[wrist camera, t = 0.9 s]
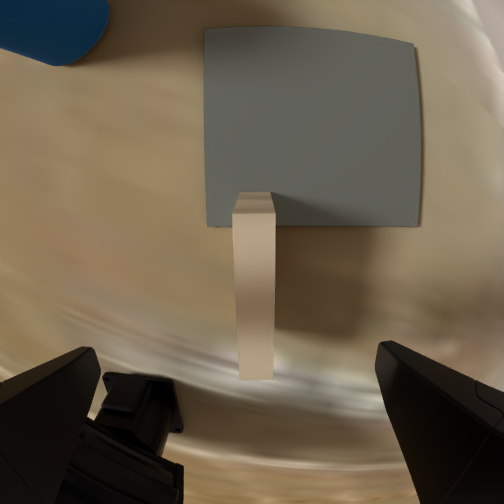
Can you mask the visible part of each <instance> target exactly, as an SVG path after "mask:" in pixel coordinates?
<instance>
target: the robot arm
mask: <svg viewBox="0 0 504 504" xmlns="http://www.w3.org/2000/svg"><path fill="white" fill-rule="evenodd" d="M375 372H376V375H377V379H378V383H379V386H380V390H381V394H382V397H383V401H384V405H385V408H386V411H387V414H388V417H389V419H390V422H391V424H392V427H393V429H394V432H395V434H396V437H397V440H398V442H399V445H400V448H401V450H402V453H403V456H404V458H405V461H406V464H407V467H408V469H409V472H410V475H411V478H412V481H413V484H414V486H415V489H416V492H417V495H418V498H419V501H420V504H504V392H502V391H500V390H497V389H495V388H493V387H490V386H488V385H486V384H483V383H481V382H479V381H477V380H475V381H474V379H473V378H470V377H468V376H466V375H464V374H462V373H460V372H457V371H455V370H453V369H451V368H449V367H447V366H445V365H443V364H440V363H438V362H436V361H434V360H432V359H430V358H428V357H426V356H424V355H421V354H419V353H417V352H415V351H413V350H411V349H409V348H407V347H405V346H403V345H401V344H399V343H396V342H394V341H392V340H390V341H383V342H380V343H379V345H378V349H377V355H376V361H375ZM100 374H101V368H100V365H99V362H98V359H97V356H96V353H95V350H94V349H93V348H92V347H84V346H82V347H79V348H77V349H75V350H73V351H70V352H68V353H66V354H64V355H62V356H59V357H57V358H55V359H53V360H50V361H48V362H46V363H44V364H41V365H39V366H37V367H35V368H32V369H30V370H28V371H25V372H23V373H21V374H19V375H16V376H14V377H12V378H10V379H7V380H5V381H3V383H2V382H0V504H183V500H184V466H183V465H181V464H178V463H173V462H171V461H169V460H167V459H164V458H162V454H163V451H164V447H165V444H166V441H167V437H168V434H169V432H172V433H182V432H183V429H184V427H183V422H182V418H181V414H180V409H179V405H178V400H177V396H176V391H175V386H174V383H173V381H172V380H170V379H163V378H152V377H142V376H133V375H125V374H117V373H110V372H106V373H104V375H103V377H102V378H103V382H104V384H105V387H106V390H107V393H108V394H107V395H106V397H105V399H104V401H103V402H102V404H101V406H102V407H101V409H100V411H99V413H98V414H97V416H96V418H95V420H94V421H93V420H92V419H90V418H89V417H87V415H88V412H89V410H90V407H91V404H92V400H93V397H94V394H95V390H96V387H97V384H98V381H99V378H100ZM107 377H108V378H107ZM166 384H168V385H169V386H168V385H166ZM178 428H179V429H178Z"/></svg>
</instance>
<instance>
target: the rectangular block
mask: <svg viewBox="0 0 504 504" xmlns="http://www.w3.org/2000/svg"><path fill="white" fill-rule="evenodd" d="M232 226H233V253H234V277H235V299H236V320H237V339H238V358H239V376H240V380H273V363H274V320H275V231H276V213H275V209H274V205H273V201H272V197H271V193H270V192H240V194H239V197H238V199H237V202H236V205H235V207H234V210H233V213H232Z"/></svg>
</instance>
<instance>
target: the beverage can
mask: <svg viewBox="0 0 504 504" xmlns="http://www.w3.org/2000/svg"><path fill="white" fill-rule="evenodd" d="M109 14H110V8H109V4H108V1H107V0H0V48H1V49H4V50H8V51H11V52H14V53H17V54H20V55H23V56H26V57H29V58H32V59H35V60H37V61H40V62H43V63H46V64H48V65H51V66H63V65H67V64H70V63H72V62H74V61H76V60H77V59H79V58H81V57H82V56H83V55H85V54H86V53H87V52H88V51H89V50H90V49H91V48H92V47H93V46H94V45H95V44H96V43H97V41H98V40H99V38H100V37H101V35H102V34H103V32H104V30H105V28H106V26H107V23H108V19H109Z"/></svg>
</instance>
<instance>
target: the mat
mask: <svg viewBox="0 0 504 504" xmlns="http://www.w3.org/2000/svg"><path fill="white" fill-rule="evenodd" d="M204 148H205V184H206V210H207V227H222V226H232V213H233V210H234V207H235V205H236V202H237V199H238V197H239V194H240V192H270V193H271V197H272V201H273V205H274V209H275V213H276V226H408V227H418V216H419V201H420V180H421V125H420V104H419V90H418V79H417V69H416V60H415V53H414V45H413V44H412V43H408V42H403V41H399V40H394V39H389V38H384V37H379V36H373V35H367V34H361V33H354V32H347V31H339V30H330V29H319V28H305V27H282V26H248V27H226V28H212V29H204Z"/></svg>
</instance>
